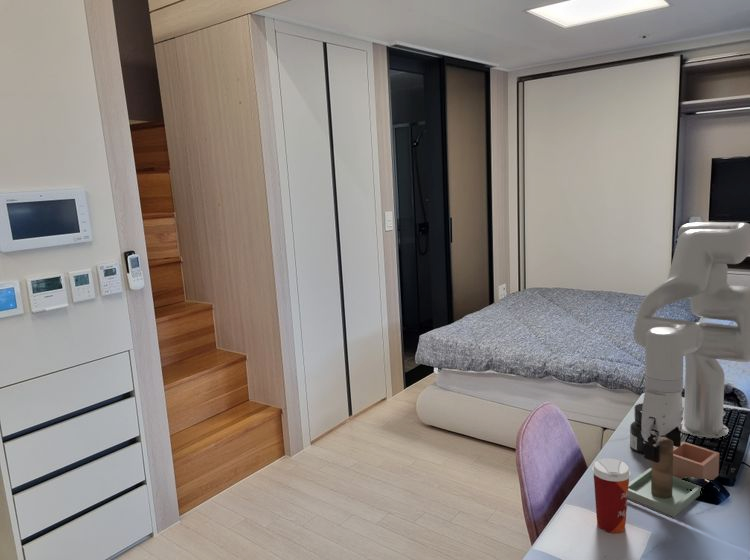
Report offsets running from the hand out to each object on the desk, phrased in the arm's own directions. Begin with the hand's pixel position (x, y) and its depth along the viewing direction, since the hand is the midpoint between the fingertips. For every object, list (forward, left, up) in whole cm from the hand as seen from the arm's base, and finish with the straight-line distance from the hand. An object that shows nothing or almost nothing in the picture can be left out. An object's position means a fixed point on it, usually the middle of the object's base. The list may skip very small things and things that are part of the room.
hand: (662, 452), depth 130 cm
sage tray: (0, 0, -11) cm, 11 cm away
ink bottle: (-19, -13, -11) cm, 25 cm away
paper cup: (+18, -2, -11) cm, 22 cm away
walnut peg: (0, 0, -10) cm, 10 cm away
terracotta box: (-13, +1, -11) cm, 17 cm away
